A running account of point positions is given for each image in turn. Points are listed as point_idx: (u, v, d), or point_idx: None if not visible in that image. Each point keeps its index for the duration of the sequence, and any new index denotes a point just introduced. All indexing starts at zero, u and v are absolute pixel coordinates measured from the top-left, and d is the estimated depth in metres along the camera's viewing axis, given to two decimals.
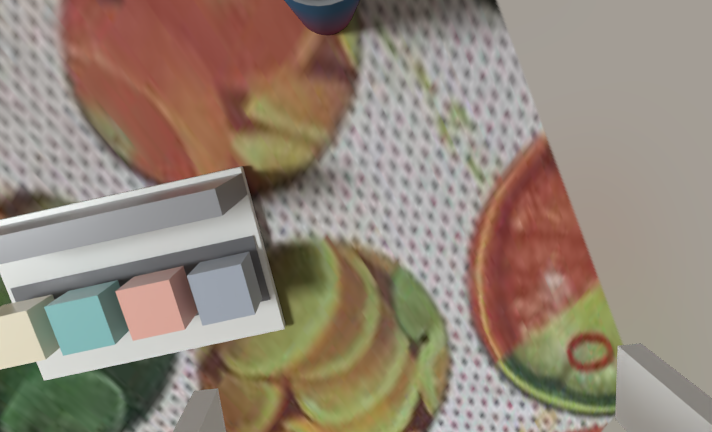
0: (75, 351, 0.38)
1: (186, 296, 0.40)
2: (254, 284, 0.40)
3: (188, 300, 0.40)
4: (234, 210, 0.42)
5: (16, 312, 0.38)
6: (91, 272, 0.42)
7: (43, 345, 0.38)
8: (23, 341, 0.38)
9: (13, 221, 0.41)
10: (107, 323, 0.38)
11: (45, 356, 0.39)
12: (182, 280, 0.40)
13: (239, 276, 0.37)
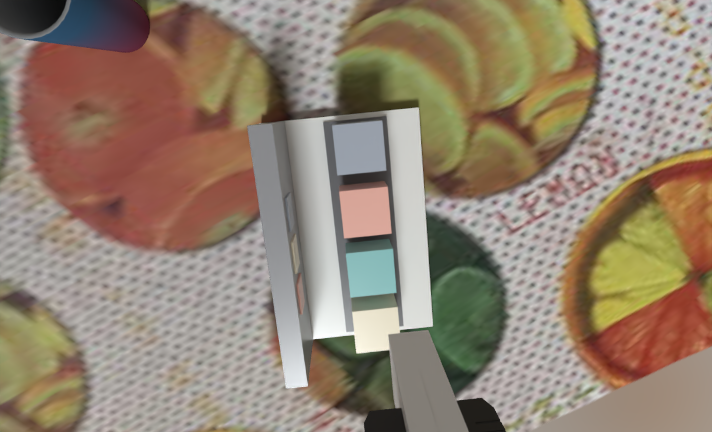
0: (394, 282, 0.44)
1: (364, 185, 0.44)
2: None
3: (368, 184, 0.45)
4: (298, 135, 0.46)
5: (353, 319, 0.45)
6: (340, 266, 0.49)
7: (386, 307, 0.45)
8: (378, 320, 0.45)
9: None
10: (372, 250, 0.44)
11: (395, 306, 0.45)
12: (349, 186, 0.45)
13: (343, 128, 0.41)
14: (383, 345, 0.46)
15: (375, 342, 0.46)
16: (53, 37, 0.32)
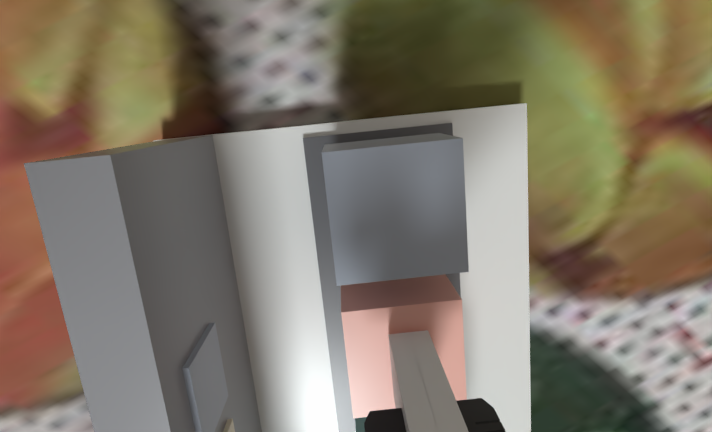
0: None
1: (398, 283, 0.19)
2: (396, 139, 0.17)
3: (408, 281, 0.19)
4: (246, 167, 0.20)
5: None
6: None
7: None
8: None
9: None
10: None
11: None
12: (364, 285, 0.19)
13: (354, 161, 0.15)
14: None
15: None
16: None
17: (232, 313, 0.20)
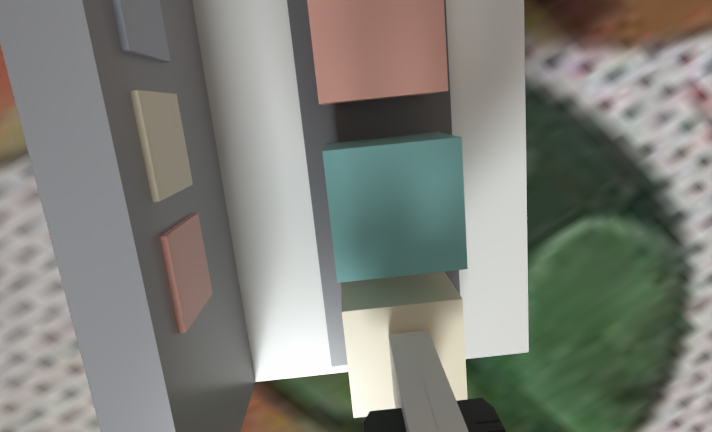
0: (462, 238, 0.16)
1: None
2: None
3: None
4: None
5: None
6: (316, 212, 0.20)
7: (430, 298, 0.17)
8: None
9: None
10: (401, 143, 0.15)
11: (455, 298, 0.17)
12: None
13: None
14: None
15: None
16: None
17: (183, 15, 0.17)
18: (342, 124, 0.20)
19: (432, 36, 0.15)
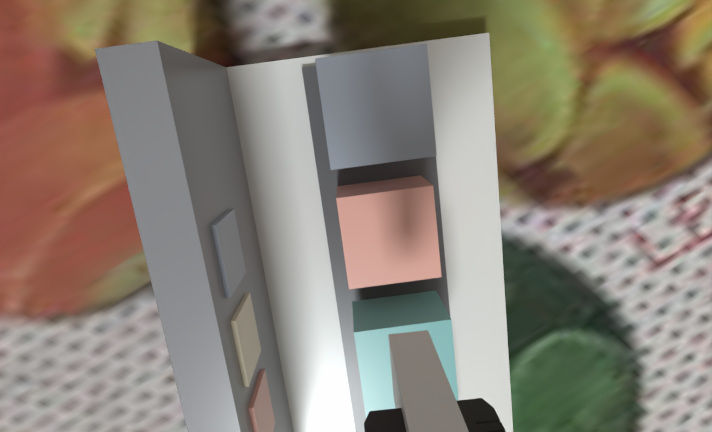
0: (454, 385, 0.22)
1: (384, 184, 0.23)
2: None
3: (392, 182, 0.23)
4: (255, 94, 0.24)
5: None
6: (344, 340, 0.27)
7: None
8: None
9: None
10: (409, 324, 0.21)
11: None
12: (356, 187, 0.23)
13: (341, 65, 0.18)
14: None
15: None
16: None
17: (247, 216, 0.24)
18: None
19: (428, 242, 0.22)
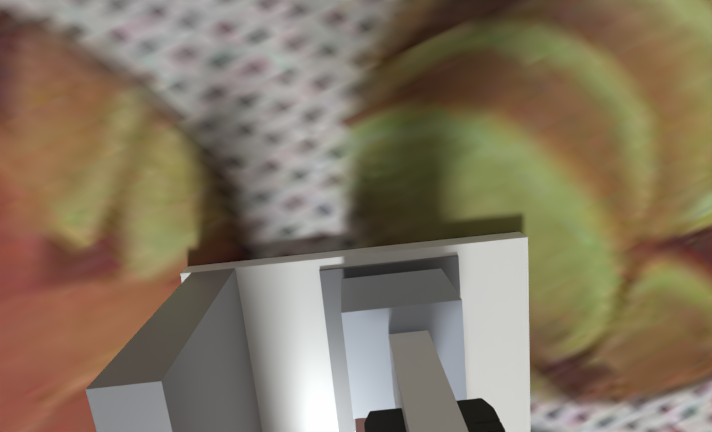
0: None
1: None
2: (404, 282, 0.19)
3: None
4: (266, 296, 0.21)
5: None
6: None
7: None
8: None
9: None
10: None
11: None
12: None
13: (369, 319, 0.17)
14: None
15: None
16: None
17: None
18: None
19: None
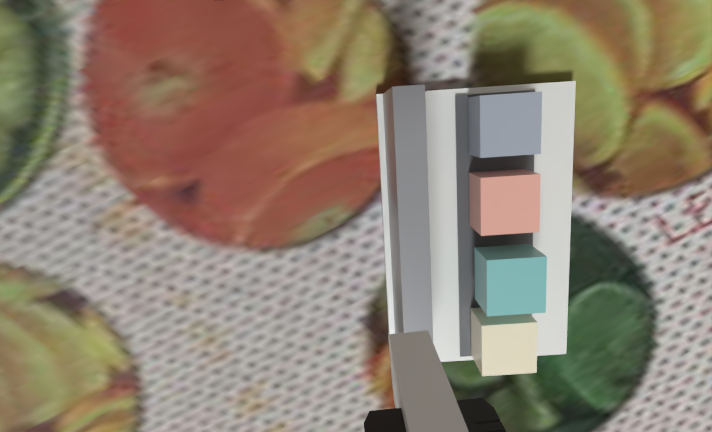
0: (544, 299, 0.35)
1: (503, 172, 0.37)
2: None
3: (508, 171, 0.37)
4: None
5: (481, 335, 0.37)
6: (460, 276, 0.40)
7: (522, 321, 0.37)
8: (512, 337, 0.37)
9: None
10: (520, 258, 0.34)
11: (534, 321, 0.37)
12: (484, 173, 0.37)
13: (493, 100, 0.33)
14: (515, 368, 0.38)
15: (506, 364, 0.38)
16: None
17: None
18: (478, 234, 0.39)
19: (533, 209, 0.35)
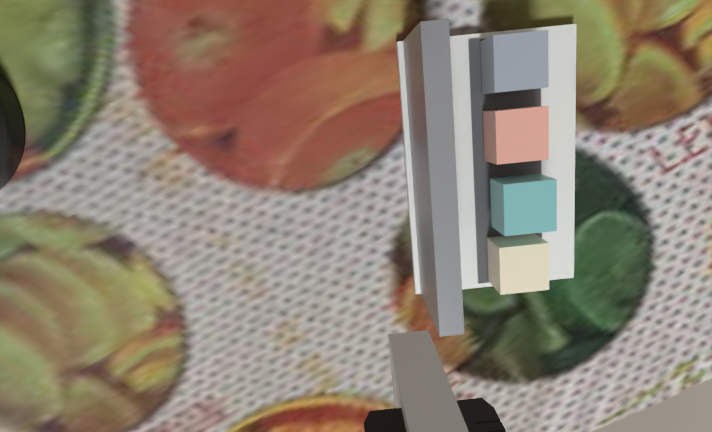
0: (555, 218, 0.39)
1: (514, 108, 0.41)
2: None
3: None
4: None
5: (499, 257, 0.41)
6: (476, 208, 0.44)
7: (535, 243, 0.41)
8: (527, 257, 0.41)
9: (417, 265, 0.45)
10: (533, 181, 0.38)
11: (545, 242, 0.41)
12: None
13: (505, 39, 0.37)
14: (530, 286, 0.42)
15: (521, 282, 0.42)
16: None
17: None
18: (492, 168, 0.43)
19: (543, 138, 0.39)
